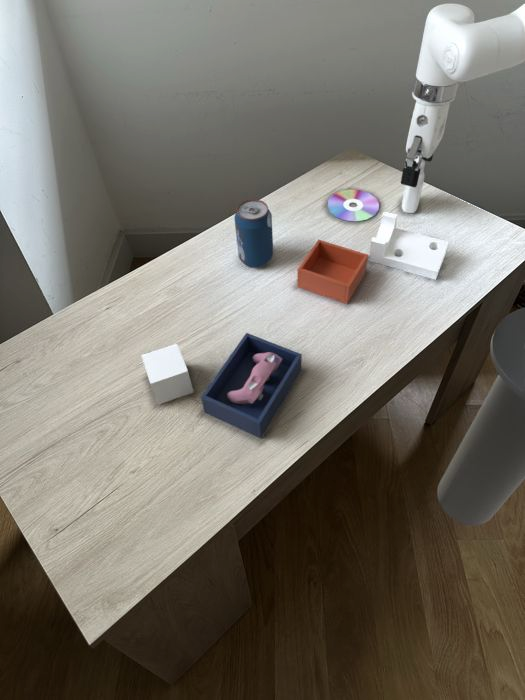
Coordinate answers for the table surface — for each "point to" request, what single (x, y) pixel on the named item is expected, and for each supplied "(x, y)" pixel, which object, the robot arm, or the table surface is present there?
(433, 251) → the bracket
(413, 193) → the eye dropper bottle
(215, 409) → the navy bin
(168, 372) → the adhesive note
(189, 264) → the table surface
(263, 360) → the video game controller
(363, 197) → the cd
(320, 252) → the terracotta bin
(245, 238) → the soda can
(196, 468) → the table surface
